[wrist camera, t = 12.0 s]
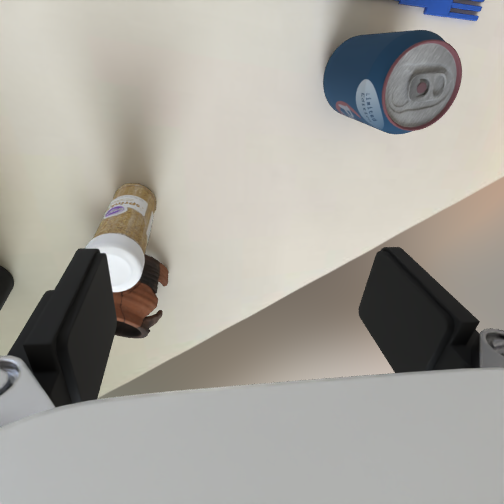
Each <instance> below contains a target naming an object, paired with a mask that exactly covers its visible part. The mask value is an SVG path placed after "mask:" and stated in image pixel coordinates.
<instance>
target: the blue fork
mask: <svg viewBox="0 0 504 504" xmlns="http://www.w3.org/2000/svg"><path fill="white" fill-rule="evenodd" d="M395 1H399V4H404V5H411V6H418V7H425V10H424V14H427V15H434V16H441V17H450V18H458V19H465V20H472V21H477V19H478V16H475V15H468V14H461V13H453V12H450V9H451V8H456V9H463V10H470V11H477V12H478V11H481V8H482V7H481V6H474V5H467V4H460V3H452V2H453V0H395ZM470 1H477V2H484V0H470Z"/></svg>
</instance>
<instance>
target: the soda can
mask: <svg viewBox="0 0 504 504" xmlns="http://www.w3.org/2000/svg"><path fill="white" fill-rule="evenodd" d="M461 78H462V67H461V61H460V58H459V56H458V54H457V52H456V50H455V49H454V48H453V47H452V46H451V45H450V44H448V43H446V42H445V41H444V40H443V39H442V38H441V37H440V36H439V35H437V34H435V33H433V32H430V31H426V30H415V31H403V32H392V33H380V34H369V35H359V36H355V37H352V38H350V39H348V40H346V41H345V42H343V43H342V44H341V45H340V46H339V47H338V48H337V49H336V50H335V51H334V53H333V54H332V55H331V57H330V59H329V61H328V63H327V66H326V69H325V72H324V79H323V86H324V93H325V96H326V99H327V101H328V103H329V104H330V106H331V107H332V108H333V109H334V110H335V111H337V112H338V113H340V114H343V115H345V116H347V117H350V118H352V119H355V120H357V121H360V122H362V123H365V124H367V125H369V126H372V127H374V128H377V129H379V130H382V131H384V132H387V133H390V134H404V133H408V132H411V131H415V130H420V129H423V128H426V127H428V126H430V125H432V124H433V123H435V122H436V121H437V120H439V119H440V118H441V117H442V116H443V115H444V114H445V113H446V112H447V110H448V109H449V108H450V106H451V105H452V103H453V102H454V100H455V98H456V96H457V93H458V90H459V87H460V83H461Z"/></svg>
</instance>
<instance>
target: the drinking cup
mask: <svg viewBox="0 0 504 504" xmlns="http://www.w3.org/2000/svg"><path fill="white" fill-rule="evenodd" d="M13 286H14V280H13V277H12V276H11V274H10V273H9V272H8V271H7V270H6V269H4V268H3V267H1V266H0V310H1V308H2V307H3V305H4V303H5V301H6V299H7V298H8V296H9V294H10V292H11V290H12V289H13Z"/></svg>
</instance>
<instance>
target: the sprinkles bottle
mask: <svg viewBox="0 0 504 504" xmlns="http://www.w3.org/2000/svg"><path fill="white" fill-rule="evenodd" d="M155 210H156V199H155V196H154V194H153V193H152V192H151V191H150V190H149V189H148V188H146V187H145V186H143V185H140V184H132V183H131V184H125V185H123V186H121V187H120V188H119V189H118V190H117V191H116V193H115V194H114V197H113V201H112V202H111V203H110V205H109V207H108V209H107V210H106V212H105V214H104V216H103V219H102V222H101V224H100V226H99V228H98V230H97V232H96V234H95V236H94V238H93V239H92V240H91V241H90V242H89V243H88V244H87V246H86V248H85V249H99V250H100V253H106V255H107V260H108V266H109V273H110V279H111V285H112V291H113V292H121V291H125V290H127V289H130V288H131V287H133V286H134V285H135V284H136V283H137V282H138V281H139V279H140V277H141V275H142V271H143V268H144V263H145V257H144V253H145V249H146V247H147V244H148V240H149V236H150V231H151V227H152V222H153V215H154V212H155Z"/></svg>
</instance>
